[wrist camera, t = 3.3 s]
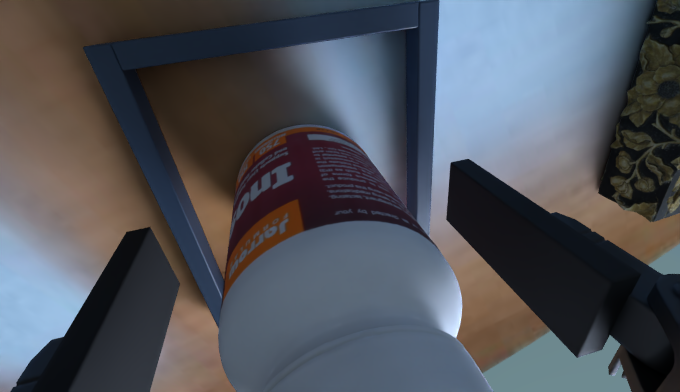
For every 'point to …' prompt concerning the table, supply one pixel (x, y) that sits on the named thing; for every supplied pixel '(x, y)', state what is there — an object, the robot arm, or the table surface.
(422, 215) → the dark grey open frame
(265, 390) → the pill bottle
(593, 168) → the table surface
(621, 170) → the decorative block
